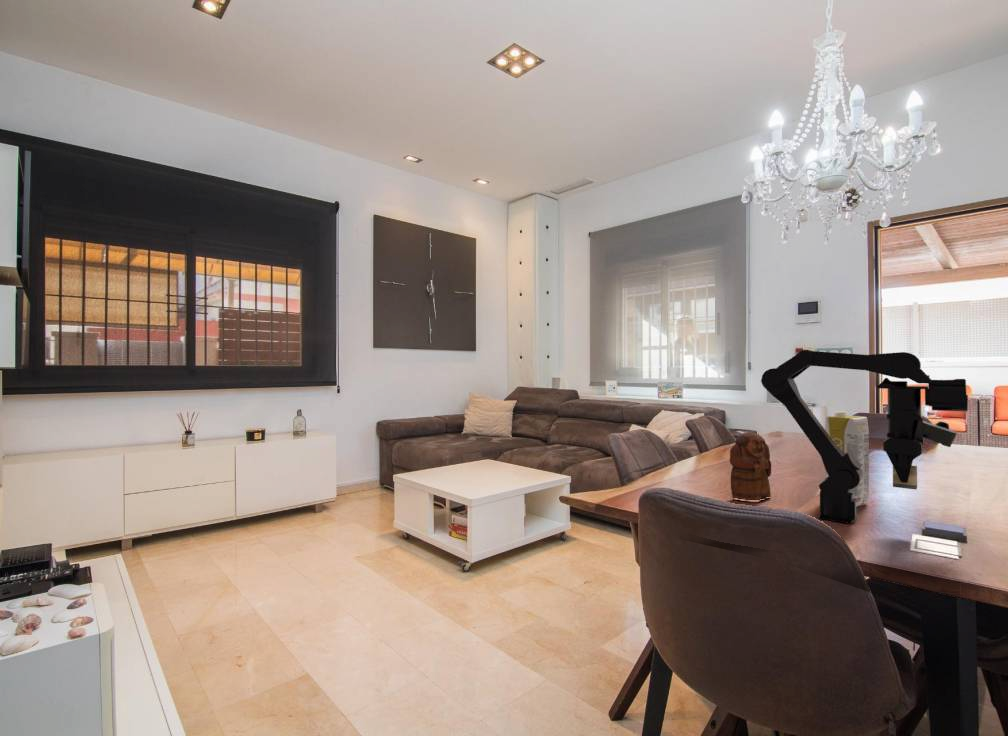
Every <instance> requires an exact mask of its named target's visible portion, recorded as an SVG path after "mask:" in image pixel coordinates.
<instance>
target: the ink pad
mask: <svg viewBox="0 0 1008 736" xmlns="http://www.w3.org/2000/svg"><path fill="white" fill-rule="evenodd" d="M921 525H922V527H921V536H927V537H933V538H939V539H945V540H951V541H957V542H958V541H959V542H964V543H966V542H968V534H967V527H963V525H959V524H953V523H946V522H940V521H932V520H923V521H922V524H921Z"/></svg>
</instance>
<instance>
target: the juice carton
mask: <svg viewBox="0 0 1008 736" xmlns="http://www.w3.org/2000/svg"><path fill="white" fill-rule="evenodd" d="M833 414H834V416H829V415H828V416H825V425H824V429H825V430H826V432H827V433H828V435H829V436H830V437H831V439H832V440H833V441H834V443H835V444H836V445H837V446H838V447H839V448H840V449H841V450H842V451H843V452H845V453H847V452H848V451H850V450H851V451H852V452H853V454H854V456H855V458H856V460H857V461H858V462H859V463H861V464H862V467H861V469H862V471H863V477H862V480H861V481H860V483H859V484H858V485H857V487H855V488H853V489H851V490H850V491H849V492H850V493H853V500H856V508H857V507H859V506H864V505H867V504H868V502H869V495H870V493H869V492H870V448H869V447H870V444H869V442H870V441H869V438H870V433H869V430H870V429H869V422H868V417H867V416H861V415H848V414H847V413H846V411H834V412H833ZM827 477H828V473H827V471H826V469H825V468H824V480H825V479H826V478H827Z"/></svg>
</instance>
